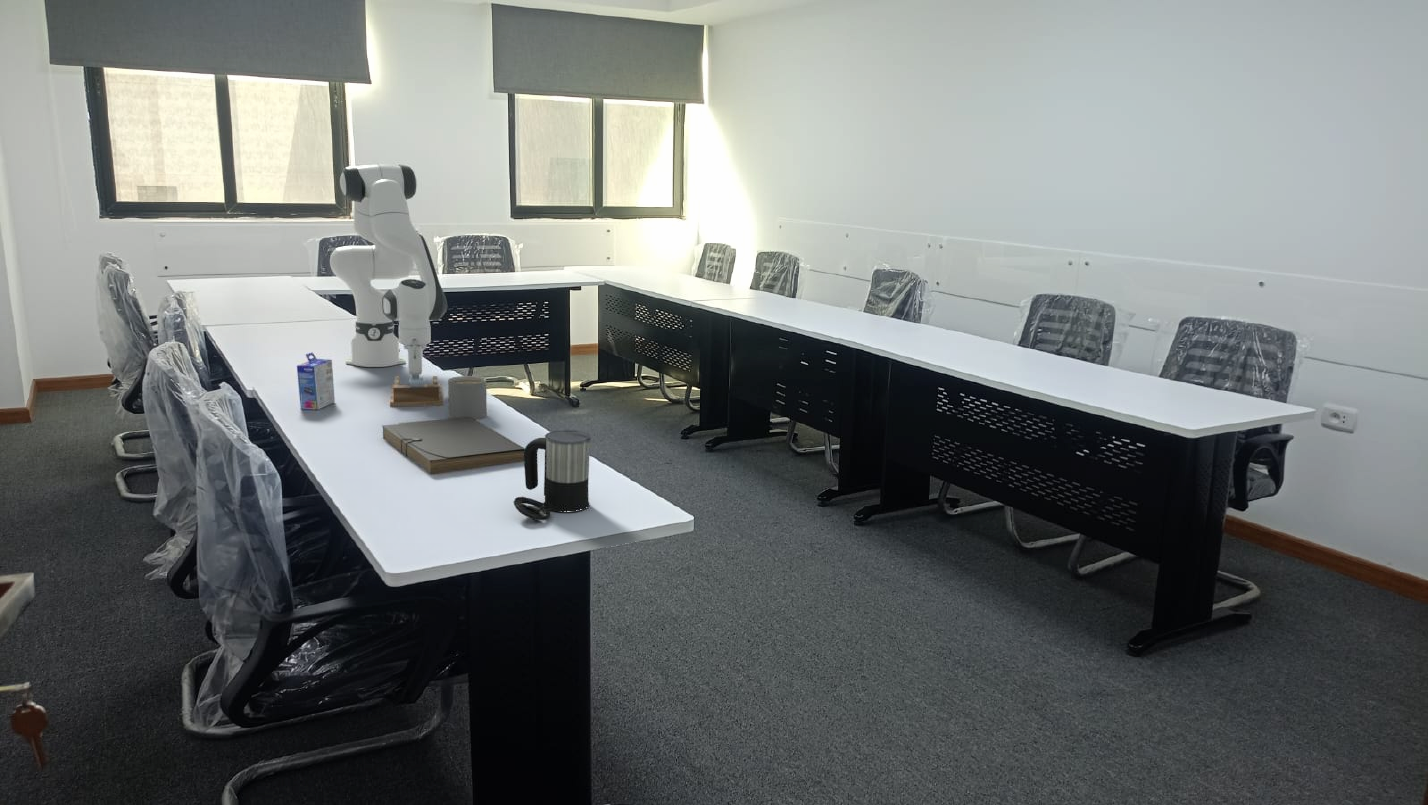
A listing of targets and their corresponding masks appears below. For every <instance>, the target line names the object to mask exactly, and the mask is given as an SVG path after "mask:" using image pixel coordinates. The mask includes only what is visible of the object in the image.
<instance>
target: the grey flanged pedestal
mask: <svg viewBox="0 0 1428 805" xmlns="http://www.w3.org/2000/svg"><path fill="white" fill-rule="evenodd" d="M408 379H409V380H408V385H409V387H423V385H424V380H423V378H420V377H419V379H412V378H408Z"/></svg>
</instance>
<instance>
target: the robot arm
mask: <svg viewBox="0 0 1428 805" xmlns="http://www.w3.org/2000/svg"><path fill="white" fill-rule="evenodd" d="M339 186H340V190H341V192H342V194H343V196H344V198H346V199H347V200H348V201H352V202H353V224H354V226H353V227H354V230H355V232H356V233H357V234H358V236H359V237H361V238H362V239H363V240H365V241H368V242H370V243H372V244H373V245H372V244H371V245H345V246H339V247H336V248H334V249H333V251H332V252H331V254H330V258H329V266H330V269H331V271H332V273H333V274H334V275H335V276H336V277H337V278H339V280H341V281H342V282H344V283H345V284H346V286H347V287H348V288H349V290H350V292H351V293H352V296H353V299H354V304H355V312H356V321H355V325H354V328H355V333H356V334H355V335H354V336H353V337H352V338H351V339H350V340H351V341H350V344H351V346H350V347H351V349H350V351H351V352H350V353H351V357H349V358H348V359H346V360H345V364H346V365H353V366H358V367H367V368H382V367H384V368H385V367H392V366H396V365H403V364H406V359H405V358H404V357H403V356H402V355H401V354H400V351H401V350H400V346H399V345H400V344H401V345H403V349H405V350H407V362H408V363H407V365H408V369H407V370H408V374H409V376H410V375H411V377H412V378H411V379H419V378H420V375H422V374H423V353H424V350H426V349H427V345H429V344H431V342H432V340H431V335H432V334H431V330H432V328H431V323H430V321H434V322H437V321H439V320H440V319H442V317H443V316H444V315H445V313H446V312H447V310H448V300H447V296H446V293H445V291H444V289H443V288H442V285H441V283H440V280H439V277H438V274H437V272H436V269H435V265H434V262H433V258H432V255H431V252H430V250H429V247H428V244H427V240H426V239H425V238H424V236H423V235H422V234H419V233H418V231H416V229H415V227H414V226H413V224H412V220H411V218H410V217H411V216H410V211H409V207H408V202H407V200H410V199H412V198H413V197H414V196H415V195H416V193H417V188H418V180H417V177H416V174H415V171H414V169H412V168H411V167H410V166H407V165H402V164H398V165H396V164H395V165H394V164H386V163H385V164H384V163H377V164H365V165H357V166H356V165H350V166H346V167H344V168H343V170H342V171H341V175H340V178H339ZM414 265H416V270H417V272H418V275H419V277H420V278H419V279H413V278H408V277H409V276H410V275H411V274H412V272H413V270H414ZM403 278H405V279H403ZM406 278H407V279H406ZM399 279H403V280H401V281H400V282H399V283H398V286H397V287H394V288H392V289H388V290H387V291H386V292H384V291H382V290H380V289H378V288H375V287H374V286H372V283H371V281H373V280H399ZM394 322H398V337H397V336H396V335H395V333H394V332H395V325H394V324H395V323H394Z"/></svg>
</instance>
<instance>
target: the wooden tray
mask: <svg viewBox="0 0 1428 805" xmlns="http://www.w3.org/2000/svg"><path fill="white" fill-rule="evenodd" d="M432 383H433V384H431V383H430V384H427V383H425V384H423V387H409V384H400V376H394V383H393V384H391V390H390V399H389V407H419V406H420V407H424V406H432V407H433V406H443V404H444V402H443V393H442V384H440V383H439V381H438V375H432Z"/></svg>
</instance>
